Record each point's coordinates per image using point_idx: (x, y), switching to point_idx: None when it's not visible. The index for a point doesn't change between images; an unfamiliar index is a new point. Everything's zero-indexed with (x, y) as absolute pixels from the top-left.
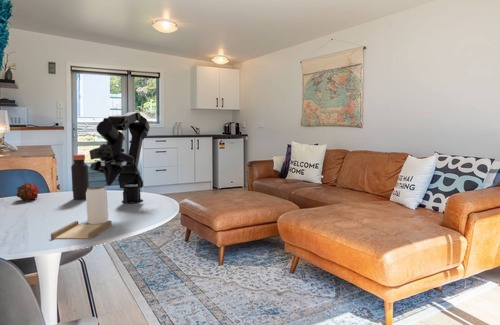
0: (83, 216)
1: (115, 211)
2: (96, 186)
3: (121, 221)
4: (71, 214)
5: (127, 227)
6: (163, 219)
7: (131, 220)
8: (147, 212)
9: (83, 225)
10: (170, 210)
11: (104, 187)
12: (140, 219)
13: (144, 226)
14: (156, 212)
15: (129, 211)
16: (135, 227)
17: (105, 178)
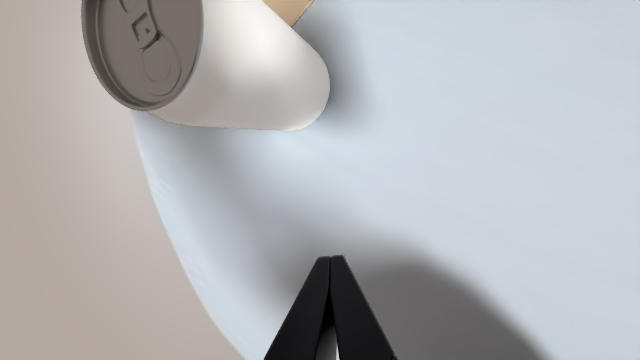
0: (476, 89)
1: (423, 251)
2: (193, 58)
3: (242, 158)
4: (628, 53)
5: (170, 129)
6: (176, 250)
7: (230, 188)
8: (286, 297)
9: (279, 14)
10: (250, 351)
11: (104, 87)
12: (220, 214)
13: (150, 167)
14: (261, 310)
15: (362, 280)
16: (156, 144)
17: (378, 324)
